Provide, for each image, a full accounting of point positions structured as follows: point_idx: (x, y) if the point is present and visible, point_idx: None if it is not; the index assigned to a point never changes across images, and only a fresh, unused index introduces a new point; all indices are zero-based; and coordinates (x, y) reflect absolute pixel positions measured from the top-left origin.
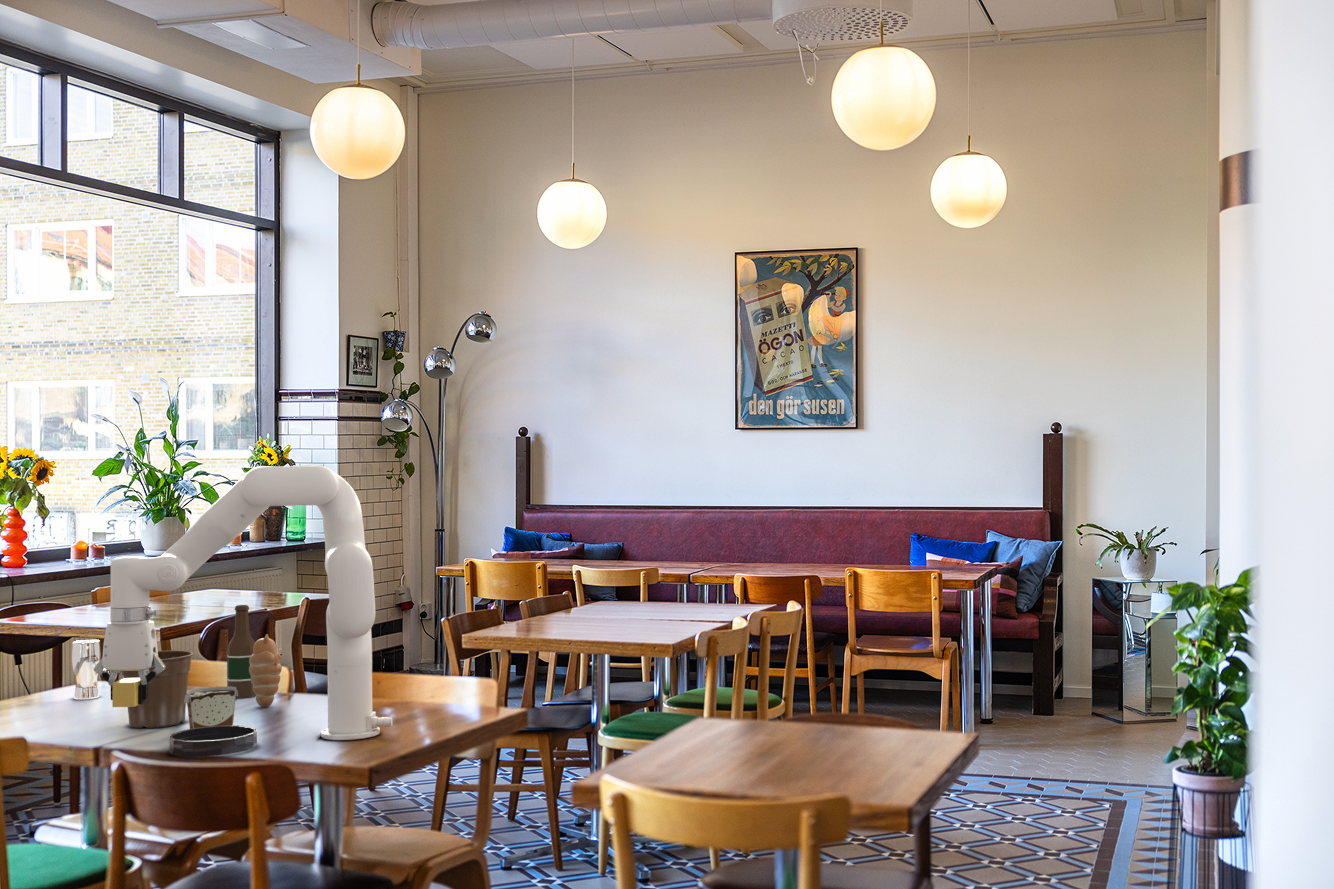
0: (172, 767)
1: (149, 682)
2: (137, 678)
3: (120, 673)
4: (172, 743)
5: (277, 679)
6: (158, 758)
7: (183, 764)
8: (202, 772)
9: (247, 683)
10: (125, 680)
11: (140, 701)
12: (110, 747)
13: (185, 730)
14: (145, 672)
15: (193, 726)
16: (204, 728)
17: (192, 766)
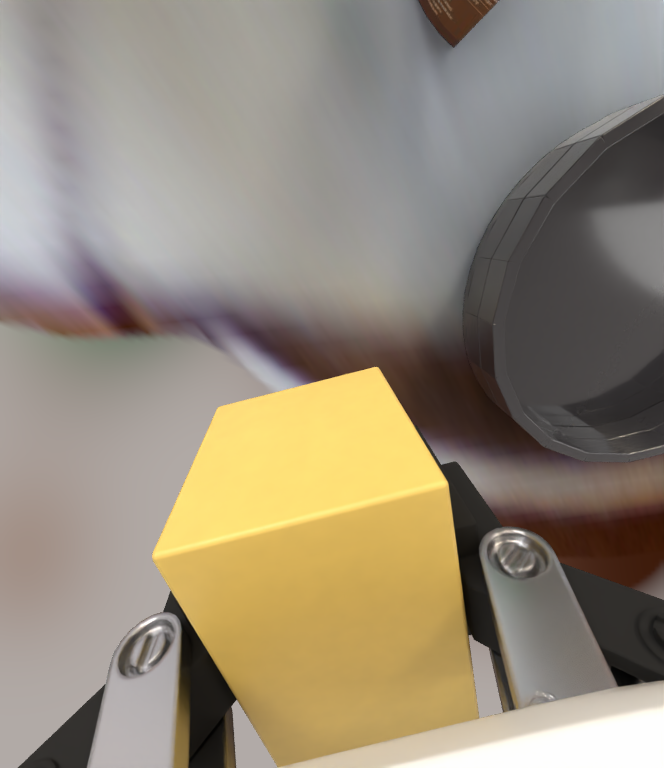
0: (555, 523)
1: (525, 546)
2: (363, 562)
3: (184, 758)
4: (527, 432)
5: None
6: (467, 438)
7: (573, 492)
8: (647, 552)
9: None
10: (314, 684)
11: None
12: (159, 288)
13: (524, 255)
14: (556, 685)
15: (483, 16)
16: (595, 158)
17: (605, 507)
